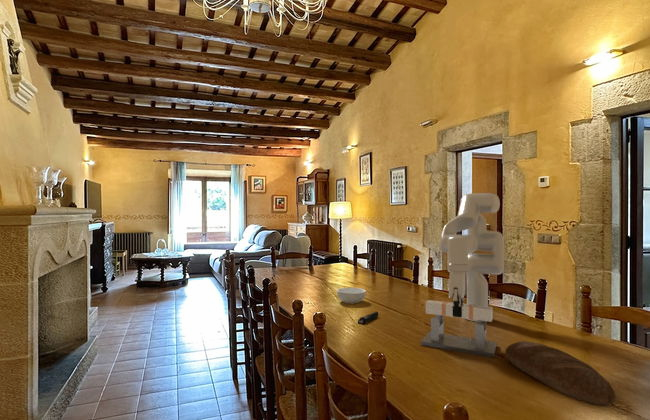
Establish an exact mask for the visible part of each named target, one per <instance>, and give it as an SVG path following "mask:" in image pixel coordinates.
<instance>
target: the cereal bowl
mask: <svg viewBox="0 0 650 420" xmlns="http://www.w3.org/2000/svg"><path fill="white" fill-rule="evenodd" d="M366 294H367V290H365V289H364V288H359V287H341V288H337V290H336V295H337V298H338V299H339V300H340V301H342V302H344V304H348V303H351V304H350V305H354V303H356V304H359V302H362V301H363V300H364V299H365V298H366V296H367V295H366Z"/></svg>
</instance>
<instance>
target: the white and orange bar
mask: <svg viewBox="0 0 650 420" xmlns="http://www.w3.org/2000/svg"><path fill="white" fill-rule="evenodd" d="M461 307H462V317H457V318H460V319H465V318H466V320H467V319H471V320H473V319H474V320H482V321H488V322H491V323H492V322H493V307H492V306H489V305H488V306H478V305H472V304H471V305H469V304H467V303H462V304H461ZM425 314H427V315H428V314H429V315H442V316H444V317H452V318H454V317H453V302H450V301H441V300H440V301H439V300H430V299H427V300H426V301H425Z"/></svg>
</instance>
